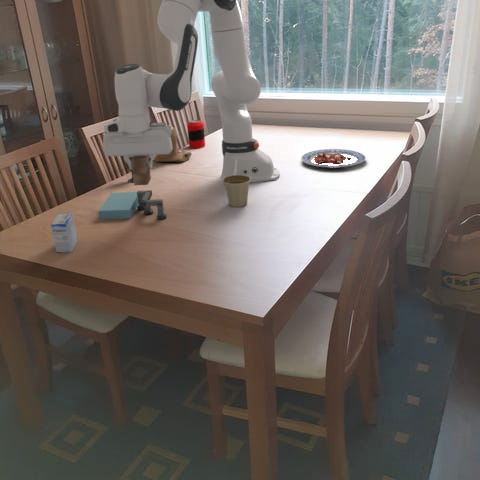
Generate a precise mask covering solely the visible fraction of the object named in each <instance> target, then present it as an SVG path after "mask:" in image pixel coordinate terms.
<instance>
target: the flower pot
mask: <svg viewBox="0 0 480 480" xmlns="http://www.w3.org/2000/svg"><path fill="white" fill-rule="evenodd" d="M250 180H251V178H250V177H249V176H246V175H231V176H227V177H225V178H223V179H222V178H221V182H222V184H223V186H224V188H225V193H226V197H227V202H228V206H230V207H234V208H240V207H244V206H245V205H247V204H248V198H249V188H250V187H249V186H250V184H251V182H250Z"/></svg>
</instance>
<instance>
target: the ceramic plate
mask: <svg viewBox="0 0 480 480" xmlns="http://www.w3.org/2000/svg"><path fill="white" fill-rule="evenodd" d="M341 154H347V155H351V156H354V157H356V158H357V159H358V160H357V161H356V162H355V163H352V164H348V165H339V166H328V165H319V164H322V163H333V164H341V163H343V160H345V159H346V157H344V156H343V155H341ZM316 156H317V157H316ZM313 158H315V159H314V160H315V162H316V163H318V164H314V163H312V162H311V160H312V159H313ZM366 158H367V157H366V156H365V155H364V153H363V154H362V153H361V152H359V151H355V150H350V149H341V148H327V149H325V148H324V149H317V150H312V151H308V152H305V153H304V154H303V155H302V156H301V158H300V159H301V161H302V162H303V163H306V164H307V165H310V166H315V167H318V168H324V167H333V168H332V169H335V168H334V167H343V168H348V167H353V166H357V165H359V164H362V163H364V162H365V161H366ZM347 159H348V160H350V159H351V158H348V157H347Z"/></svg>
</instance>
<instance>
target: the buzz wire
mask: <svg viewBox="0 0 480 480" xmlns="http://www.w3.org/2000/svg"><path fill="white" fill-rule="evenodd" d="M136 192H137V197H138V204H139V205H138V206H137V208H136V210H138V211H143V214H144V216H149V215H151V216H152V214H154V210H153V209H152V207H156V208H157V209H156V210H157V215H156V219H157V220H158V221H159V220H160V221H162V220H166V219H167V214H166V213H165V211H164V210H165V209H164V201H163V198H162V199H159V198H157V199H156V198H155V199H151V198H152V196H153V191H152V190H151V189H150V190H148V189H147V190H137V191H136Z"/></svg>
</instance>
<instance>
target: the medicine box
mask: <svg viewBox="0 0 480 480" xmlns="http://www.w3.org/2000/svg"><path fill="white" fill-rule="evenodd" d="M75 223H76V222H75V218H74V214H73V213H61V214H57V215H56V217H55V219H54V220H53V222H52V223H51V225H50V227H51V232H52V236H53V241H54V246H55V251H56V253H57V252H63V253H72V252H73V251H74V248H75V246H76V244H77V242H78V240H79V239H78V233H77V227H76V224H75Z"/></svg>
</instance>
